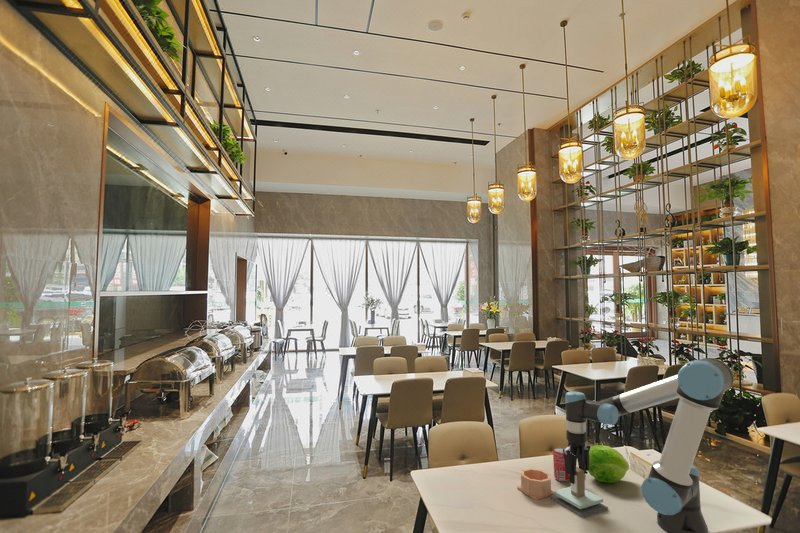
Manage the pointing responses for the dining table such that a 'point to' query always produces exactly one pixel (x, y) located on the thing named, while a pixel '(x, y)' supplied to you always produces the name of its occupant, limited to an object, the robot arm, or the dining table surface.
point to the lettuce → (607, 464)
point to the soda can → (560, 465)
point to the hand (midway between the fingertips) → (577, 490)
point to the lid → (579, 493)
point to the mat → (581, 512)
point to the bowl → (536, 483)
